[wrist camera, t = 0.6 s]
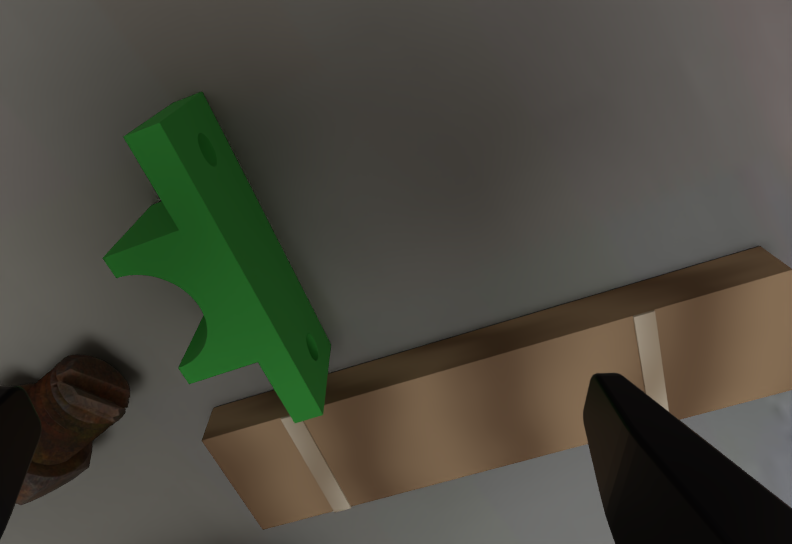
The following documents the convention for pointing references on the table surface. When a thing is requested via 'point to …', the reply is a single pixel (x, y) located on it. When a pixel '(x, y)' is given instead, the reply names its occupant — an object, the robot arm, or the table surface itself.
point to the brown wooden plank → (511, 389)
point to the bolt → (71, 420)
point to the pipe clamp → (222, 259)
